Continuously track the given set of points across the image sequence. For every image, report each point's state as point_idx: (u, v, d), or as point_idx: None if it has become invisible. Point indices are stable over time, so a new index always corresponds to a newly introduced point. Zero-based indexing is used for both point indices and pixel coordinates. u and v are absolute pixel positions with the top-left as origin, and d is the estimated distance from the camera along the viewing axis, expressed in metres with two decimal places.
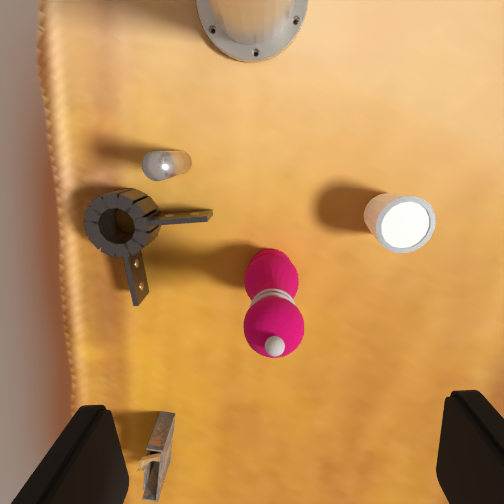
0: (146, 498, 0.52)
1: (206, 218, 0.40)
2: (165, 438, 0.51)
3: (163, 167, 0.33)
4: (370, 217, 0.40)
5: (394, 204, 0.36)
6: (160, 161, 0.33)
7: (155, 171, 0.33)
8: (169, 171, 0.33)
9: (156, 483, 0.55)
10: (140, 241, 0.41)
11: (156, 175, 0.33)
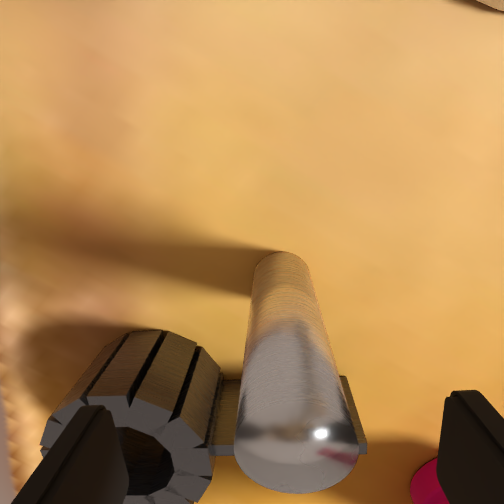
0: None
1: (364, 447, 0.15)
2: None
3: (326, 456, 0.08)
4: None
5: None
6: (317, 437, 0.08)
7: (289, 465, 0.08)
8: (348, 467, 0.08)
9: None
10: (187, 493, 0.16)
11: (291, 478, 0.08)
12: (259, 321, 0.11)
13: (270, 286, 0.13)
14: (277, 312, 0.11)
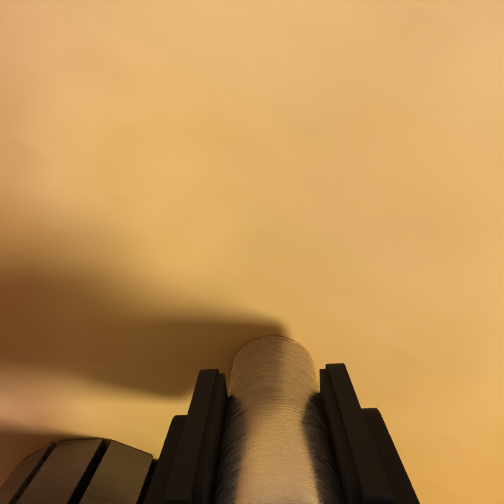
0: None
1: None
2: None
3: None
4: None
5: None
6: None
7: None
8: None
9: None
10: None
11: None
12: None
13: (252, 429, 0.08)
14: None
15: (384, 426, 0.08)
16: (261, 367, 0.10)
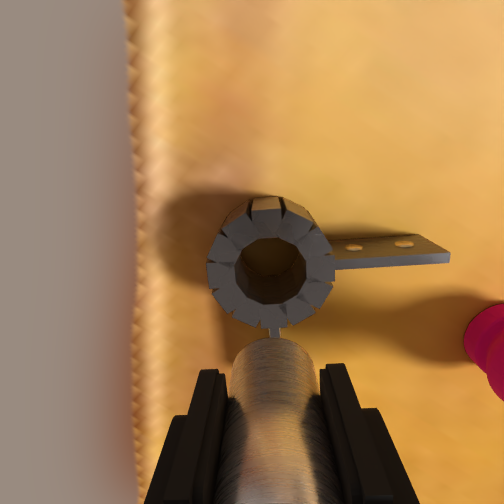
0: None
1: (447, 256, 0.20)
2: None
3: None
4: None
5: None
6: None
7: None
8: None
9: None
10: (313, 300, 0.21)
11: None
12: None
13: (252, 432, 0.08)
14: None
15: (384, 426, 0.08)
16: (261, 369, 0.10)
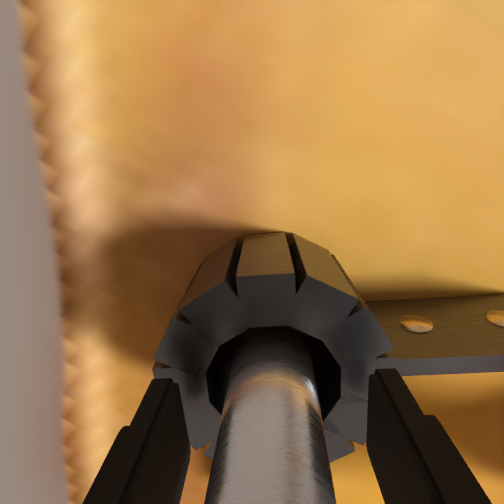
0: None
1: None
2: None
3: None
4: None
5: None
6: None
7: None
8: None
9: None
10: (351, 431, 0.11)
11: None
12: (239, 381, 0.10)
13: (256, 332, 0.12)
14: (259, 370, 0.10)
15: (445, 434, 0.08)
16: None
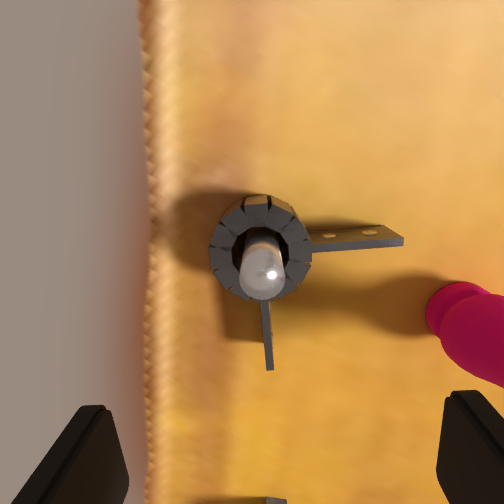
0: None
1: (401, 241, 0.26)
2: None
3: (273, 280, 0.21)
4: None
5: None
6: (269, 272, 0.21)
7: (260, 285, 0.21)
8: (282, 285, 0.21)
9: None
10: (295, 277, 0.26)
11: (261, 291, 0.21)
12: (249, 245, 0.24)
13: (254, 234, 0.26)
14: (257, 241, 0.24)
15: None
16: (257, 227, 0.28)
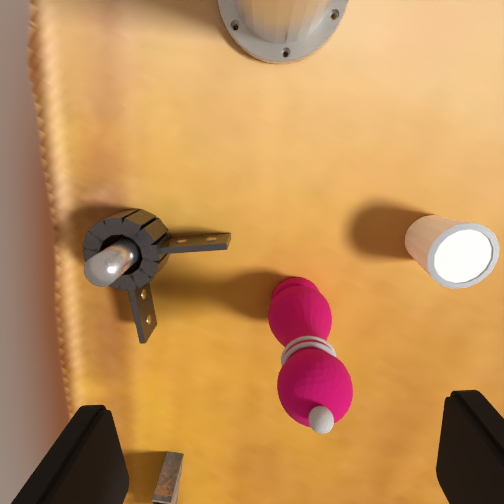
0: None
1: (225, 246, 0.35)
2: (173, 486, 0.45)
3: (107, 273, 0.30)
4: (417, 244, 0.34)
5: (450, 232, 0.31)
6: (104, 267, 0.30)
7: (99, 277, 0.30)
8: (114, 277, 0.30)
9: None
10: (148, 272, 0.35)
11: (100, 281, 0.30)
12: None
13: (119, 240, 0.35)
14: (112, 244, 0.33)
15: None
16: None
